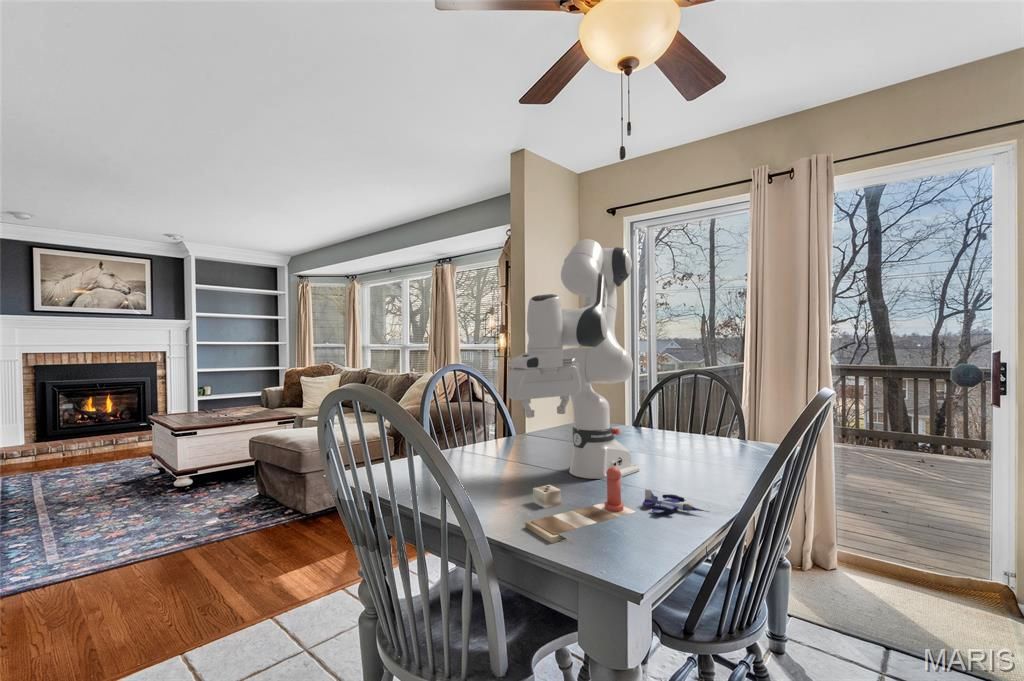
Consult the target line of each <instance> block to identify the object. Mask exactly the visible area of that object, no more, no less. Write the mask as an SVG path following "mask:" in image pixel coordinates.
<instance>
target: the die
mask: <svg viewBox="0 0 1024 681" xmlns="http://www.w3.org/2000/svg"><path fill="white" fill-rule="evenodd" d="M532 503H533V504H535V505H537V506H539V507H541V508H544V509H547V508H551V507H554V506H555V507H556V506H559V505H562V489H561V488H558V487H555V486H554V485H552V484H547V485H542V486H537V487H532Z"/></svg>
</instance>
